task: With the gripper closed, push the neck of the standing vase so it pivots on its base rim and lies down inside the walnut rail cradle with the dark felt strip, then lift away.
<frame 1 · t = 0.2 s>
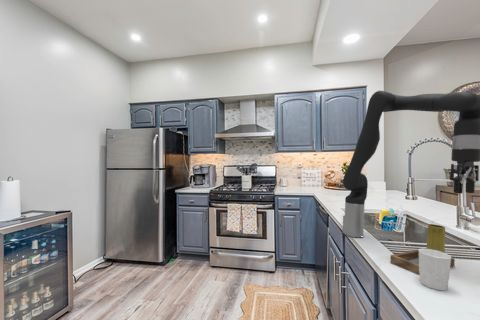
hand: (464, 193, 82), 29 cm above the counter, fingers open, 8 cm apart
vase: (435, 262, 91), on the counter
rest: (423, 264, 87), on the counter
white cup: (433, 285, 72), on the counter
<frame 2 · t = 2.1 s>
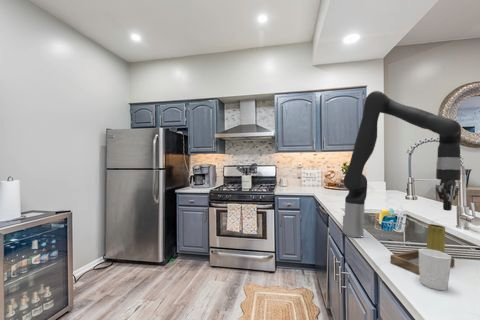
hand: (447, 210, 94), 20 cm above the counter, fingers closed
nothing on the counter moved.
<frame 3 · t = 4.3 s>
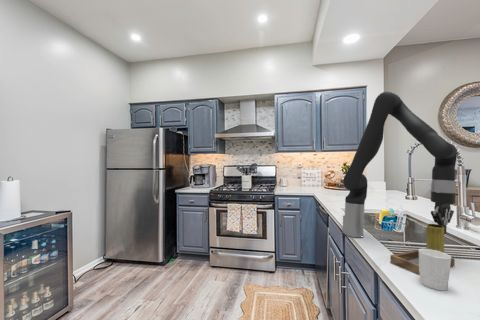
hand: (442, 233, 93), 11 cm above the counter, fingers closed
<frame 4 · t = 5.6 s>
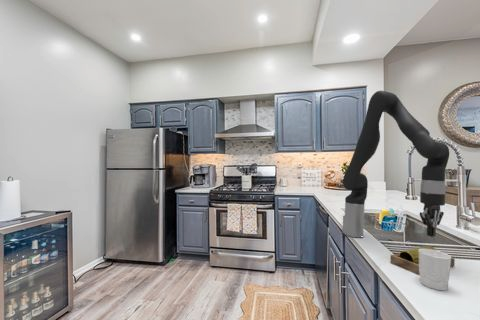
hand: (431, 236, 89), 11 cm above the counter, fingers closed
vase: (430, 253, 90), point 3 cm above the counter, touching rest
everything else where it was.
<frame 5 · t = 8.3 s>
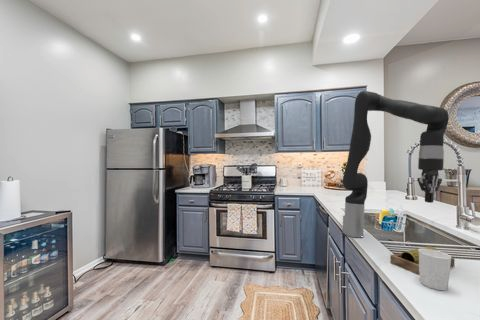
hand: (428, 202, 89), 24 cm above the counter, fingers closed
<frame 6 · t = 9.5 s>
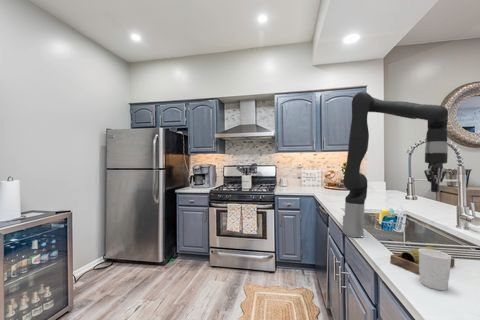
hand: (434, 191, 99), 27 cm above the counter, fingers closed
nothing on the counter moved.
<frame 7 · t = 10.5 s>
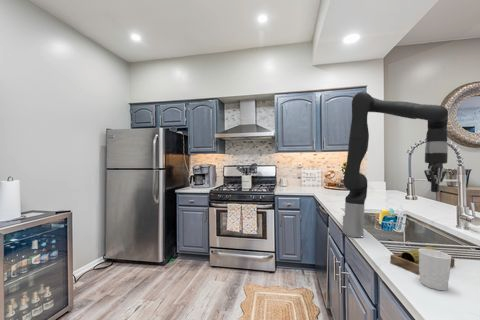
hand: (434, 191, 99), 27 cm above the counter, fingers closed
nothing on the counter moved.
at the end: vase tilted 91°; vase inside the target area on the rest (4.2 cm from its centre), point 3.3 cm above the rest's base; vase point 3.3 cm above the counter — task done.
